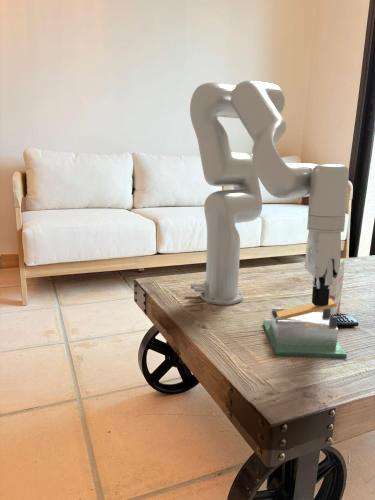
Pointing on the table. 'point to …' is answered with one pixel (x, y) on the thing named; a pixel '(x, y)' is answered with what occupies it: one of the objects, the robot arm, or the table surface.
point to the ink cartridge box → (336, 290)
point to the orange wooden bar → (303, 310)
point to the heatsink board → (304, 348)
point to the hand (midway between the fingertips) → (319, 304)
